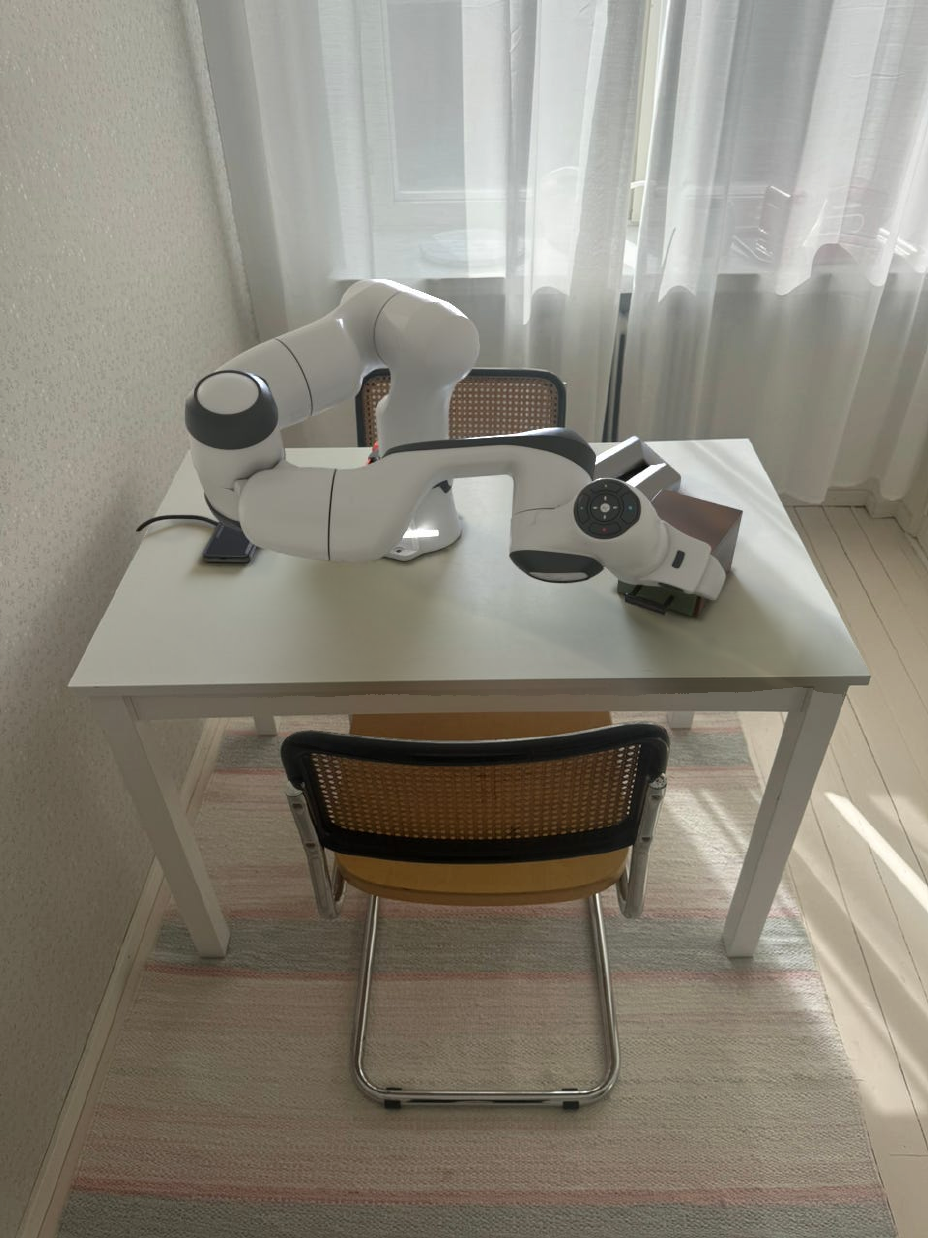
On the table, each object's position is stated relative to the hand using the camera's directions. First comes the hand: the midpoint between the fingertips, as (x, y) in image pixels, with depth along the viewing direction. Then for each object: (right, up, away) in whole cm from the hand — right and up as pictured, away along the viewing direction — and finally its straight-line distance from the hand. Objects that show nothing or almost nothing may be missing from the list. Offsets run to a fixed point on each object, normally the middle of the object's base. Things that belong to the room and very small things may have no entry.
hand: (657, 574), depth 117 cm
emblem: (-3, +17, +32) cm, 37 cm away
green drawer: (+3, -2, +7) cm, 7 cm away
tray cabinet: (+5, 0, +10) cm, 11 cm away
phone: (-65, +7, +22) cm, 69 cm away
